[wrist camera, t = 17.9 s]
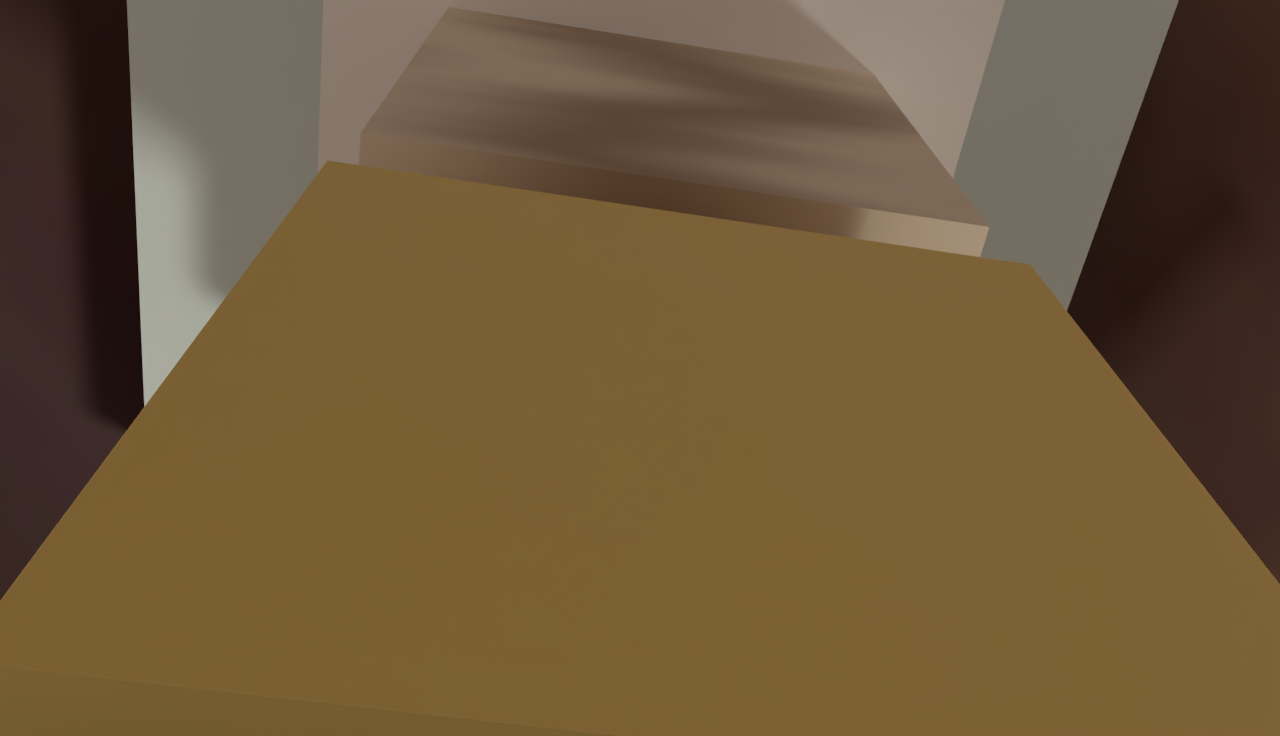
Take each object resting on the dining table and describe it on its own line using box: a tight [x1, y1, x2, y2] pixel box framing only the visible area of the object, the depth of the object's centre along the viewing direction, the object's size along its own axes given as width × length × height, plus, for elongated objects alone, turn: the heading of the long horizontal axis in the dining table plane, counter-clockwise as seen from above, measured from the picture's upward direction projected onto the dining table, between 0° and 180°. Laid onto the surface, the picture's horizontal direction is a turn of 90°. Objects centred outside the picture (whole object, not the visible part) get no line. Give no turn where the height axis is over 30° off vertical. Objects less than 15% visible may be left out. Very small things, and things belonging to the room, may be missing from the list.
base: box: [127, 0, 1179, 407], centre depth 21 cm, size 18×18×5 cm
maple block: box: [359, 7, 989, 257], centre depth 16 cm, size 6×6×6 cm
